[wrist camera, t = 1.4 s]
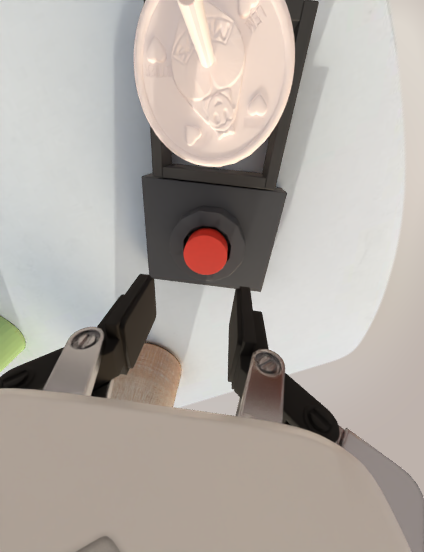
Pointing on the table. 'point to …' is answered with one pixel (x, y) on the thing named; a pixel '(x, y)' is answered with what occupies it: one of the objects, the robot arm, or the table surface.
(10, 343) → the mug
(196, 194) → the button base
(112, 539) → the robot arm
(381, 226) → the table surface
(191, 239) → the stop button
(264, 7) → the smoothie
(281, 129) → the frame
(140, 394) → the planter
